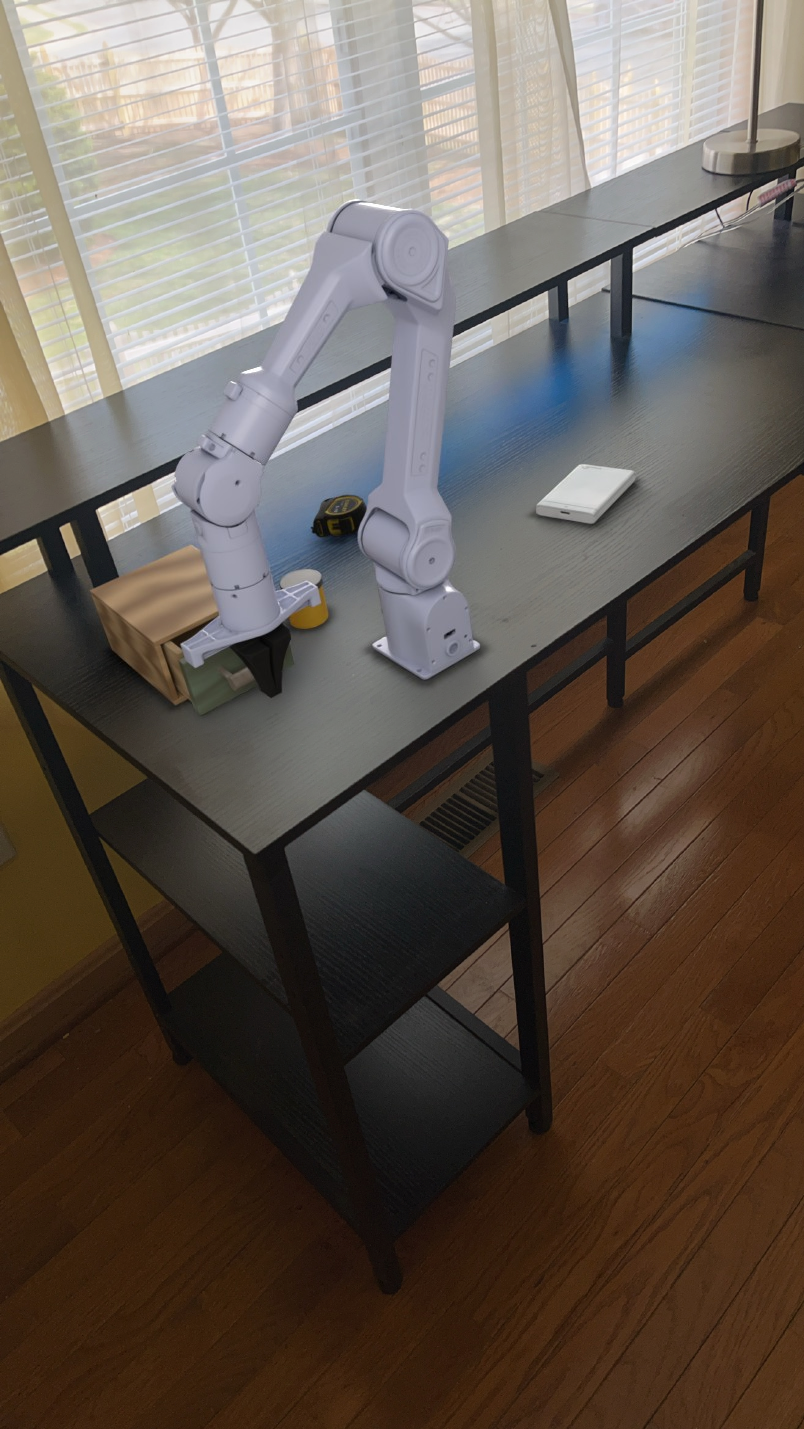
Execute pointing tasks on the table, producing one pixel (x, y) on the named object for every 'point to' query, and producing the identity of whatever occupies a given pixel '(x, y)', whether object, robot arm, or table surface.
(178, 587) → the cabinet
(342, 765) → the table surface
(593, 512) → the hard drive
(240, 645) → the robot arm
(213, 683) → the drawer
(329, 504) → the tape measure
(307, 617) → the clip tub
